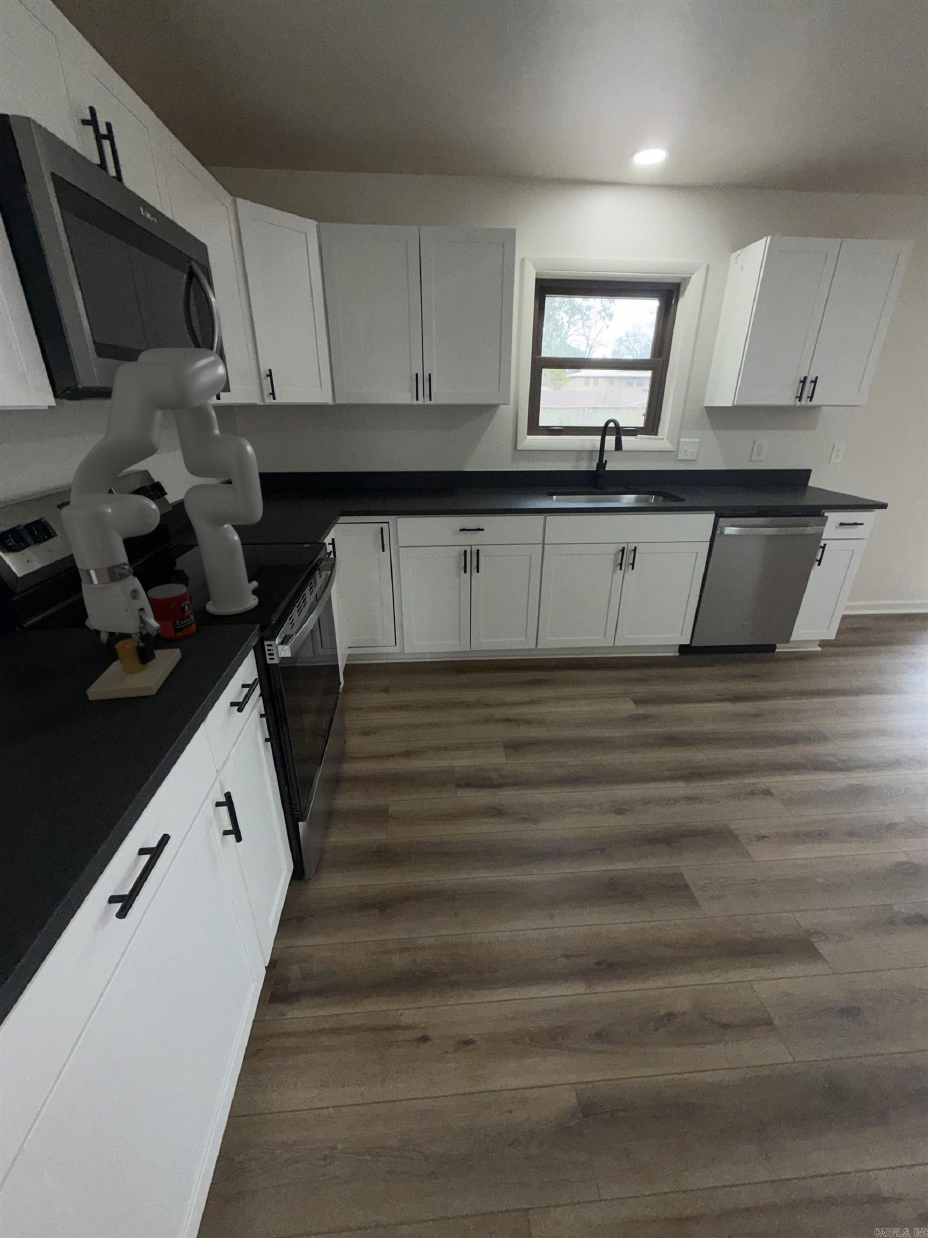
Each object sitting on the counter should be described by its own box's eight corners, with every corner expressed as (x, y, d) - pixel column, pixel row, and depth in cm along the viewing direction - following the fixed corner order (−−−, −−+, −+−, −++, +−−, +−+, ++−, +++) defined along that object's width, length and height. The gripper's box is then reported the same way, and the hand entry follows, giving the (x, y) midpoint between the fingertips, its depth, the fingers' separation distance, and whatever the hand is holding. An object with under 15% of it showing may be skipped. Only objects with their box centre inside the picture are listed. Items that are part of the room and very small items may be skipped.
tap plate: (125, 660, 104) (122, 651, 103) (181, 656, 106) (179, 647, 105) (89, 700, 91) (85, 690, 90) (154, 694, 92) (151, 684, 91)
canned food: (181, 641, 112) (169, 596, 107) (151, 638, 114) (138, 594, 109) (204, 627, 119) (194, 584, 114) (175, 624, 120) (164, 582, 116)
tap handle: (128, 663, 99) (120, 637, 97) (152, 661, 100) (145, 635, 97) (119, 674, 95) (110, 647, 93) (143, 672, 96) (135, 646, 93)
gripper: (163, 568, 91) (186, 654, 99) (83, 563, 94) (111, 647, 101) (131, 582, 84) (158, 674, 92) (46, 576, 87) (79, 665, 95)
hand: (133, 659), depth 97 cm, fingers open, 5 cm apart
